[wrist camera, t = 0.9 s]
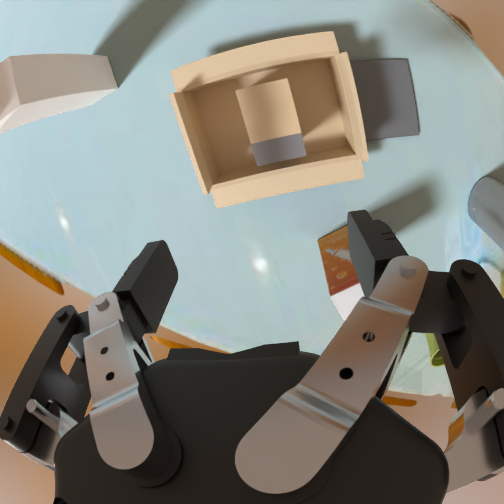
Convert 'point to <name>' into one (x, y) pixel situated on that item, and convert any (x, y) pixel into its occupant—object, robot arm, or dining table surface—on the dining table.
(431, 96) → the dining table surface
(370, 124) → the slate mat
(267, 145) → the block
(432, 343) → the plant pot
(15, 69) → the milk
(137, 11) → the dining table surface
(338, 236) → the small box
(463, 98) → the dining table surface
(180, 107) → the carton
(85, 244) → the dining table surface
